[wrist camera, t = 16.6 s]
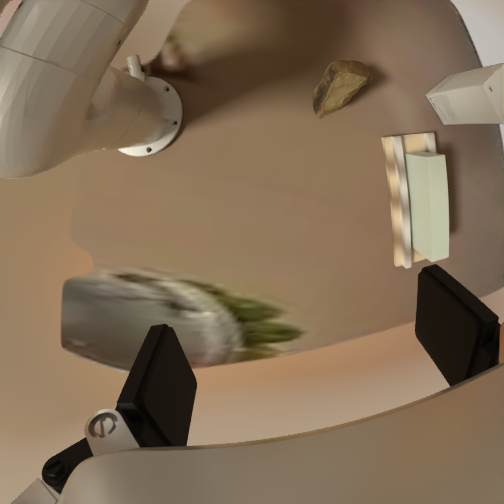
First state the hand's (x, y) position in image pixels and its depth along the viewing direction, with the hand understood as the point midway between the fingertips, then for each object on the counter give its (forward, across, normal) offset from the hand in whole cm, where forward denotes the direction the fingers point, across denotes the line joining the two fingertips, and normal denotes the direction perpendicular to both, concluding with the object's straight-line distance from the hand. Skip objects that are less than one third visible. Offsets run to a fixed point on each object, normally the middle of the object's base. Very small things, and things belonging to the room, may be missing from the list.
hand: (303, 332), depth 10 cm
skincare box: (+36, -35, -10) cm, 52 cm away
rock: (+37, -15, -12) cm, 41 cm away
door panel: (+35, -25, +7) cm, 44 cm away
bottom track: (+36, -25, +7) cm, 45 cm away
